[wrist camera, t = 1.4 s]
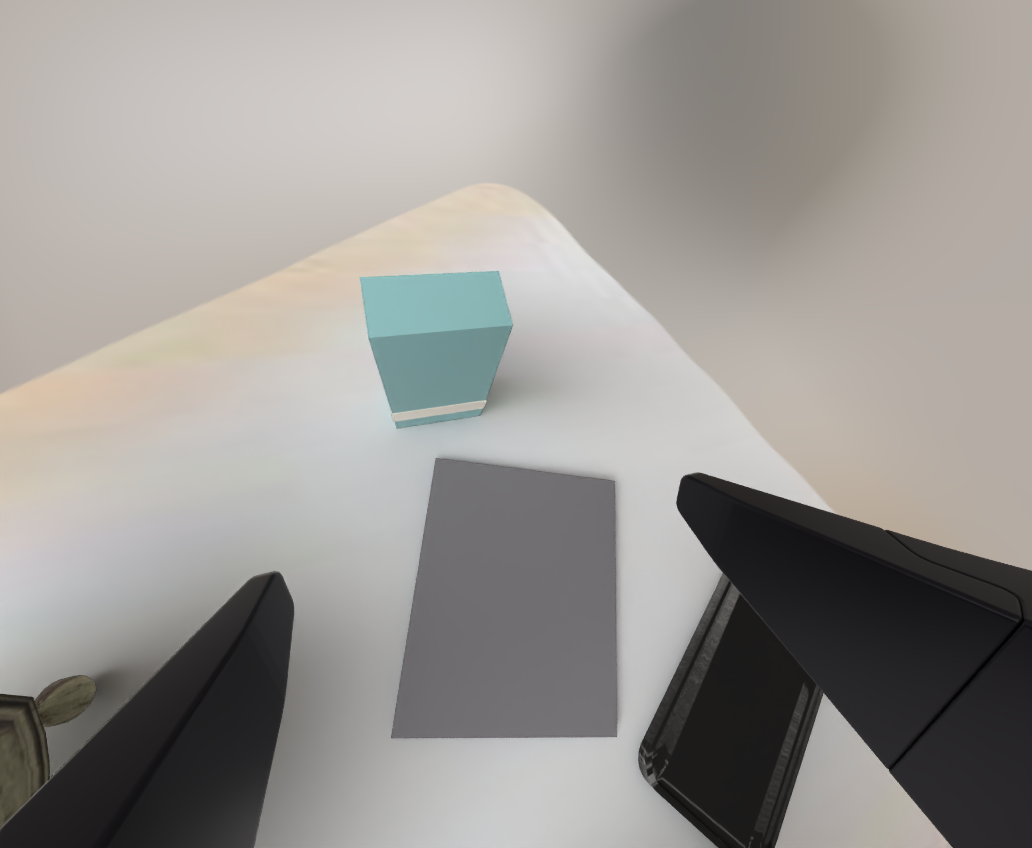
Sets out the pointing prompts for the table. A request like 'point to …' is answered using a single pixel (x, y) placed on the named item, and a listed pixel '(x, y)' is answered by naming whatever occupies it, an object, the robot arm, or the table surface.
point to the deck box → (436, 341)
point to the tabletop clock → (34, 737)
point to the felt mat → (512, 608)
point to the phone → (732, 727)
